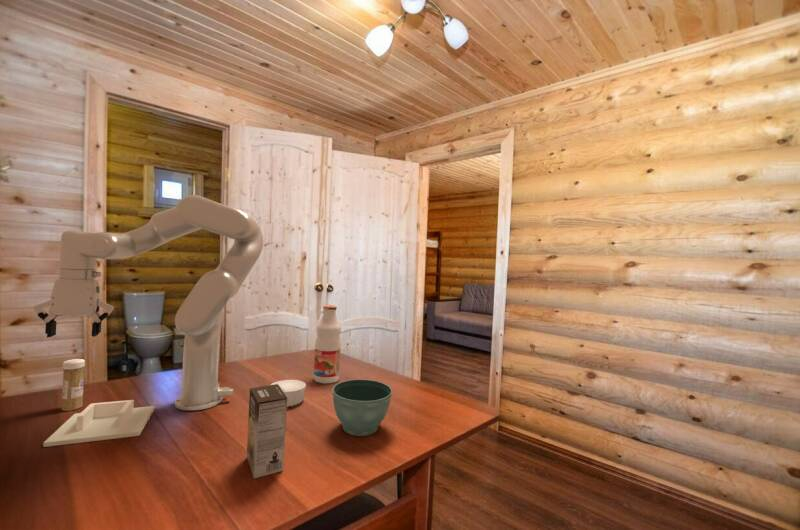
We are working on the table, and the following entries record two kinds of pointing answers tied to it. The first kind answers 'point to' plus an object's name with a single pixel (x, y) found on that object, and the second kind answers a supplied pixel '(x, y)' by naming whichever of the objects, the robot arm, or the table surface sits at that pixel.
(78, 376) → the sprinkles bottle
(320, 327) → the fruit juice
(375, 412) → the flower pot
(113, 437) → the u rest
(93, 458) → the table surface
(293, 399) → the ramekin
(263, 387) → the coffee box
